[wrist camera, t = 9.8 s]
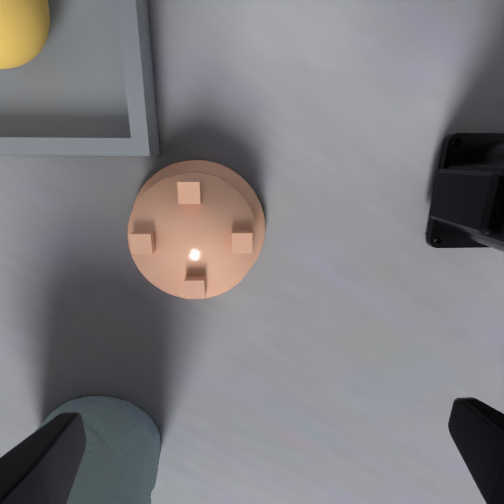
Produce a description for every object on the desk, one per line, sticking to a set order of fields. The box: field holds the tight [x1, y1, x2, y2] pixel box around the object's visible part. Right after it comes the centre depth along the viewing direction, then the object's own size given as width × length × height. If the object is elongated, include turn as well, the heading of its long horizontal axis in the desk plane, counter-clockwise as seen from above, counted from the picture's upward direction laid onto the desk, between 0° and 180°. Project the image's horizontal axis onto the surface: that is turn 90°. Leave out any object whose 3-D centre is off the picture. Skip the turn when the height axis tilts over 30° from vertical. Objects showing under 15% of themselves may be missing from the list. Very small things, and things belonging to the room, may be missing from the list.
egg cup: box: [127, 160, 265, 299], centre depth 16 cm, size 8×8×4 cm
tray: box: [0, 0, 160, 156], centre depth 14 cm, size 12×12×2 cm
